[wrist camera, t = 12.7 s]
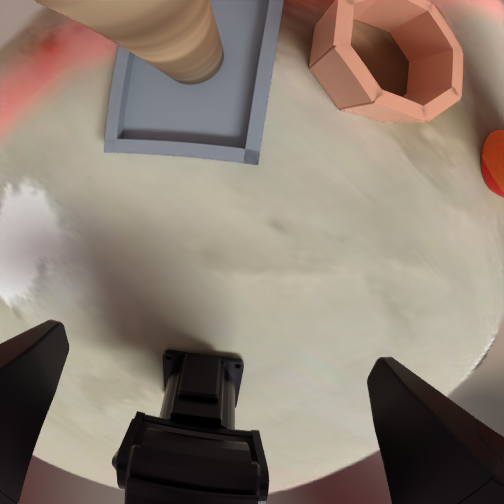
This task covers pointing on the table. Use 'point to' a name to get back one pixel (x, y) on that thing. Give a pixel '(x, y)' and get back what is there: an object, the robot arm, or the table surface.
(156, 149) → the slate tray
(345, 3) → the pot
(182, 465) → the robot arm
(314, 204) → the table surface
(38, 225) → the table surface
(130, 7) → the oak peg
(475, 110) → the table surface
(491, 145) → the paper cup
